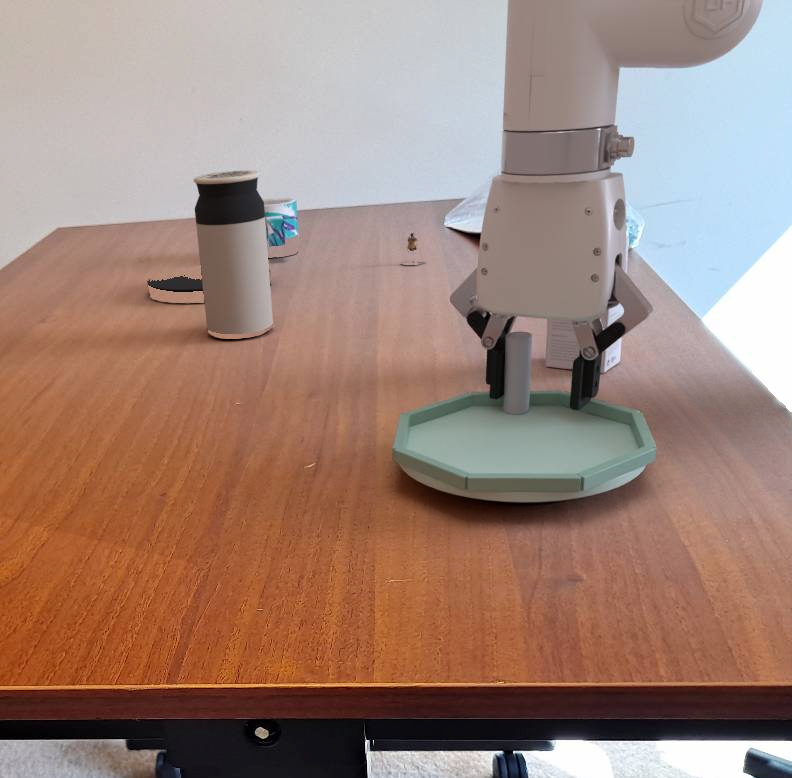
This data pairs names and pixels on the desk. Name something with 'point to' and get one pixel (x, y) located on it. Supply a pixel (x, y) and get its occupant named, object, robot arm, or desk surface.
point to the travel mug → (233, 252)
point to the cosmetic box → (565, 343)
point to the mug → (280, 220)
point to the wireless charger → (178, 284)
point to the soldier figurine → (412, 242)
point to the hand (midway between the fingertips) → (540, 397)
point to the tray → (522, 441)
